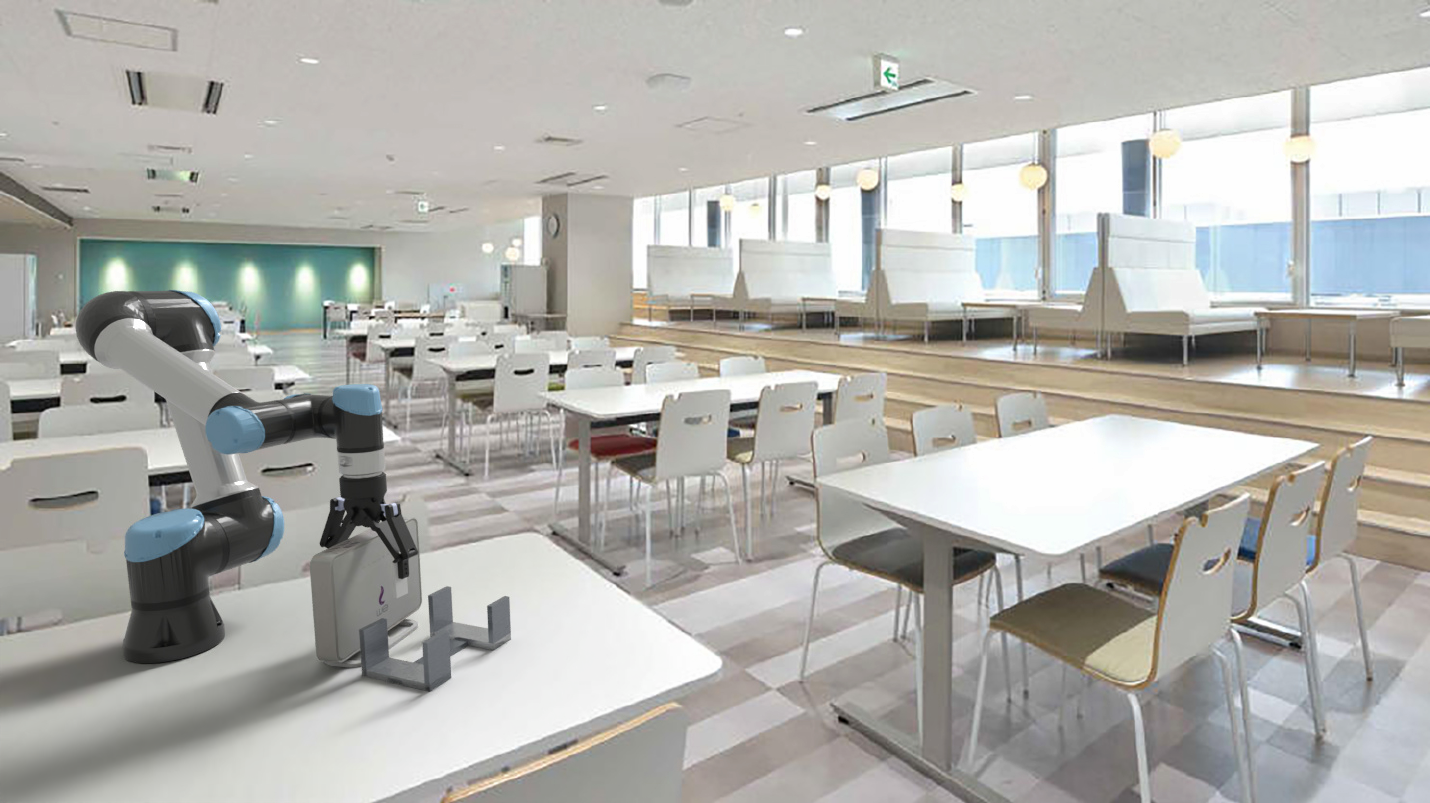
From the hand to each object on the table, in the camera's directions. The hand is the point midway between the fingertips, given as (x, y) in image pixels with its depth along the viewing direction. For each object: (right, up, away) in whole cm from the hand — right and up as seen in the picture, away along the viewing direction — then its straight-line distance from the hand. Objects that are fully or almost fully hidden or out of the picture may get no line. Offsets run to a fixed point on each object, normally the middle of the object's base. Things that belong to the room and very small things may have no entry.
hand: (370, 590), depth 146 cm
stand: (+14, -10, -4) cm, 18 cm away
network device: (0, -10, +1) cm, 10 cm away
